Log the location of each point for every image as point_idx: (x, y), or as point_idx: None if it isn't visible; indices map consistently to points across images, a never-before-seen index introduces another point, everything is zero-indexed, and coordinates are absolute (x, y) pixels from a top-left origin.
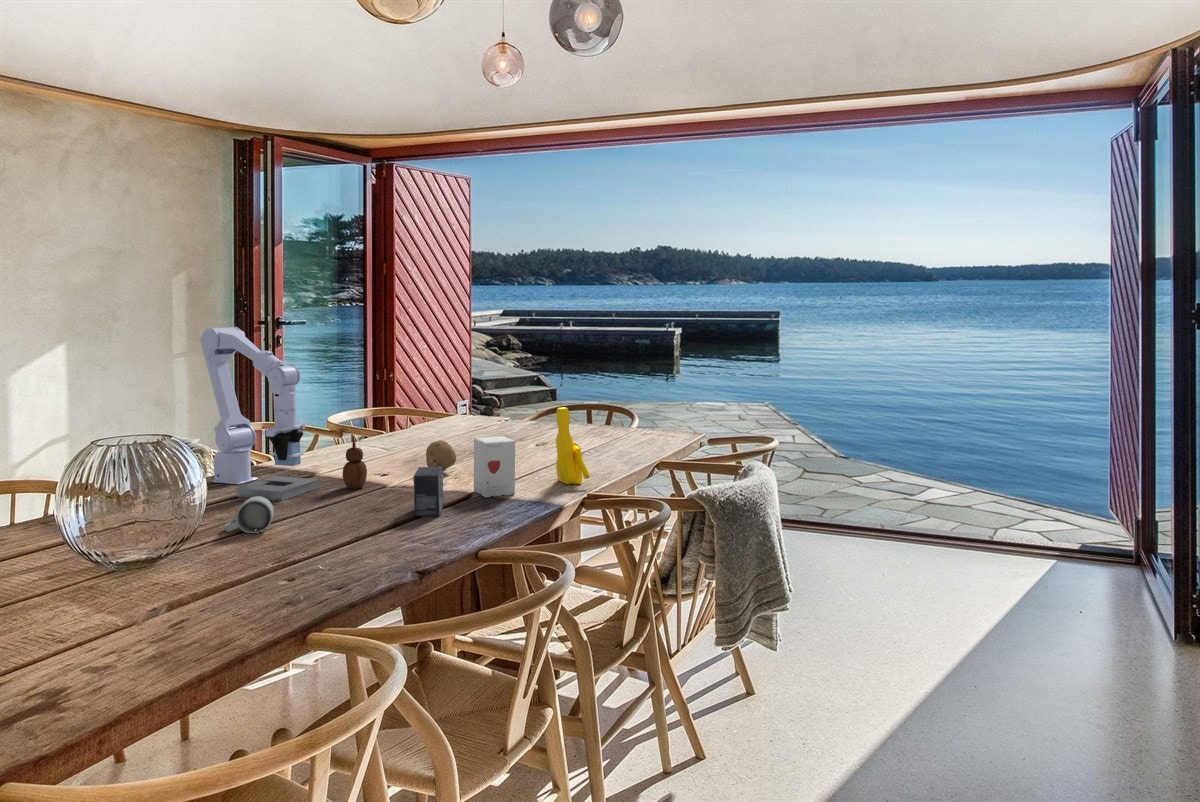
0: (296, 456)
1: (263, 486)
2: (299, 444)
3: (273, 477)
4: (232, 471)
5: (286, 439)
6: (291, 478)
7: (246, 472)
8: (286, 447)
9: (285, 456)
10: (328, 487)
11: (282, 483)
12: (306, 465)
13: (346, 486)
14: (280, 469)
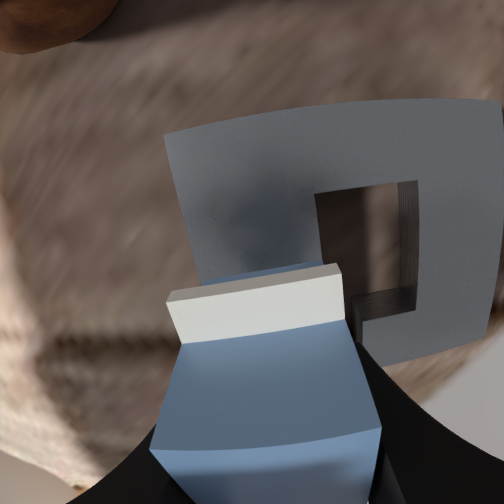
0: (323, 267)
1: (450, 270)
2: (168, 425)
3: None
4: None
5: (489, 493)
6: None
7: None
8: (396, 425)
9: (368, 359)
10: (135, 110)
11: None
12: (28, 422)
13: (112, 10)
14: (94, 451)
